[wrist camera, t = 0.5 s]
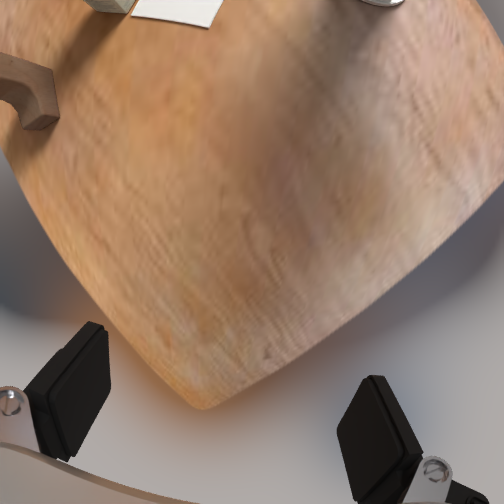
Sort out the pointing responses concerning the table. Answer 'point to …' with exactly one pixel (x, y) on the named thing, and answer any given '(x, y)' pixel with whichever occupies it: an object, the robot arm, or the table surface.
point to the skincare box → (111, 5)
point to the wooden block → (28, 91)
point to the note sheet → (179, 10)
